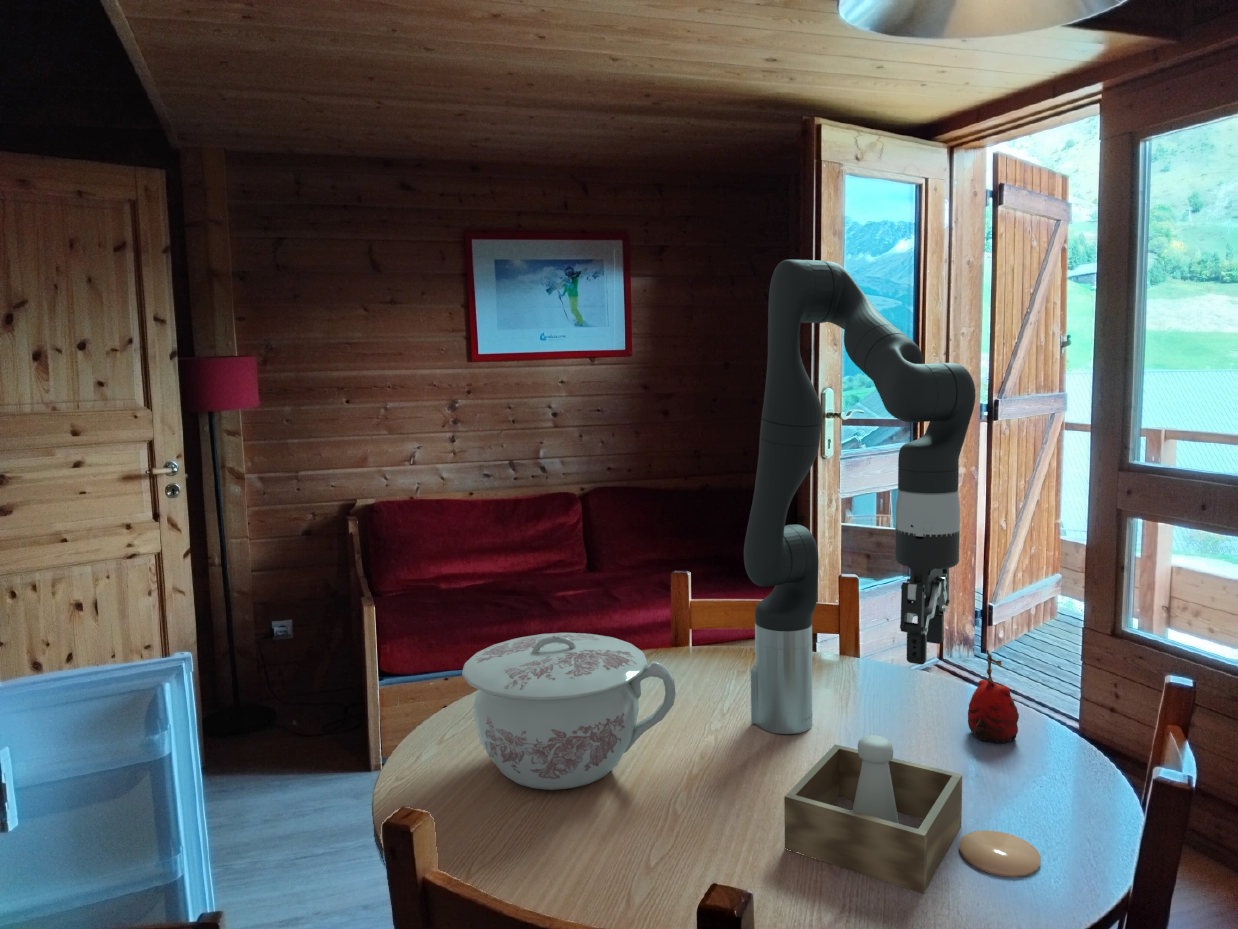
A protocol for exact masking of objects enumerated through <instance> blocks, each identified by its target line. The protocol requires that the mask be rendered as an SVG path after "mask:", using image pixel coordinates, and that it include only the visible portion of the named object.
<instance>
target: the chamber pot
mask: <svg viewBox="0 0 1238 929" xmlns="http://www.w3.org/2000/svg"><path fill="white" fill-rule="evenodd" d="M461 673H462V674H461V676H462V678H464V680H465V681H466V682H467V684H468V685H469V686H470V687H472V688H474V689H476V692H475V695H474V701H473V710H474V711H473V713H474V723H475V726H476V729H477V734H478V737H479V741H480V744H481V746H482V747H483V749H484V751H485V752H486V754H487V755H488V756H489V758H490V759H491V760H492V762H493V764H495V766H496V767H497V768H498V770H499V771H500V773H502V775H503V776H505V778H507V779H509V780H511V781H512V782H514V783H515V784H518V785H521V786H524V787H527V788H531V789H535V790H536V789H539V790H547V791H548V790H549V791H552V790H553V791H554V790H555V791H556V790H566V789H567V790H568V789H574V788H577V787H583V786H586V785H589V784H591V783H594V782H596V781H599V780H600V779H602V778H604V777H605V776H606V775H608V774H609V773H611V771H612V770H613V769H615V767H617V765H618V763H619V762H620V760H621V759H622V757H623V755H624V754H625V753H627V752H628V751H629V750H630V748H631V747H632V746H633V745H634V744H635V743H636V741H637V740H638V739H639V738H640V737H641V736H642V735H643V734H644V733H646V732H647V731H648V730H649V729H651V728H652V727H655V725H657V724H658V723H660V722H661V721H663V719H664V718H665V717H666V715H667V714H668V713H669V711H671V709H672V708H673V706H674V705H675V701H676V700H675V699H676V696H677V692H676V683H675V682H676V681H675V678H674V677H673V675H672V673H671V671H670V670H669V669H668V668H667V666H665V665H664V664H662V663H661V662H660V661H656V660H655V661H652V662H651V663H650V664H648V660H647V658H646V654H645V653H644V652H643V651H642V650H641V649H640V648H638V647H636V646H635V645H634V644H632V643H630V642H628V641H625V640H622V639H619V638H616V637H613V636H607V635H606V636H605V635H601V634H600V635H599V634H593V633H585V632H584V633H582V632H581V633H580V632H577V633H576V632H555V633H553V632H552V633H541V634H534V635H528V636H527V635H526V636H522V637H516V638H512V639H509V640H505V641H503V642H499V643H495V644H492V645H490V646H488V647H486V648H484V649H482V650H479V651H477V652H476V653H475V654H473V655H472V656H471V657H470V658H469V659H468V660H466V662H465V663H464V664H463V668H462V672H461ZM650 677H651V678H652V677H653V678H659V679H661V680H662V682H663V685H664V692H665V693H664V697H663V701H662V703H661V704H660V705H659V706H658V707H657V708H656V710H655V711H654V712H653V713H652V714H651V715H649V716H647V717H645V718H644V719H642V720H640V721H639V722H637V720H638V717H639V716H638V715H639V709H640V708H639V707H640V706H639V705H640V704H639V699H640V697H641V696H642V684H641V682H642V681H643V680H644V679H647V678H650Z"/></svg>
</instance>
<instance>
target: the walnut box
mask: <svg viewBox="0 0 1238 929" xmlns="http://www.w3.org/2000/svg"><path fill="white" fill-rule="evenodd" d="M862 762H863V760H862V759H861V758H860V757H859V755H858V748H852V747H850V746H849V747H848V746H844V745H840V744H837V743H835V744H833V745H832V747H831V748H830V749H828V751H827V752H826V753H825V754H824V755H823V756H821V758H820V759H819V760H818V761H817V762H816V763H815V764H814V765H813V767H812V768H810V769H809V770H808V771H807V773H805V774H804V776H803V777H802V778H801V779H799V781H798V782H797V783H795V784H794V786H793V787H792V788H791V789H790V790H789V791H788V792H787V793H786V794H784V797H783V798H784V803H783V804H784V807H783V808H784V809H783V810H784V811H783V812H784V813H783V814H784V849H785V848H786V849H788V850H791V851H794V852H799V853H801V854H804V855H806V856H805V857H807V856H809V857H808V858H810V857H813V858H816V859H819V860H821V861H820V862H823V861H824V862H823V863H826V862H827V863H826V864H829V863H830V864H829V865H832V866H836V867H838V868H841V869H844V870H845V869H846V870H849V871H851V872H854V873H857V872H858V874H860V875H861V874H862V875H864V876H868V877H870V878H873V879H876V880H880V881H883V882H886V883H889V884H891V885H895V886H899V887H902V888H905V889H909V890H911V891H914V892H918V893H921V894H925V893H926V891H927V889H928V887H929V885H930V883H931V882H932V881H933V878H934V876H935V874H936V873H937V871H938V869H939V867H940V865H941V863H942V861H943V860H944V858H945V856H946V855H947V852H948V851H949V849H950V847H951V845H952V844H953V842H954V840H955V838H956V836H957V835H958V833H959V831H960V829H961V827H962V816H963V815H962V814H963V813H962V812H963V810H962V809H963V805H962V804H963V774H962V773H958V772H954V771H950V770H946V769H941V768H938V767H937V768H936V767H932V766H929V765H925V764H920V763H916V762H912V761H907V760H904V759H898V758H894V757H893V758H892V760H891V761H890V762H888V763H889V769H890V775H891V780H892V786H893V792H894V798H895V803H896V809H897V814H898V813H899V814H901V815H906V816H910V817H912V818H913V817H914V818H917V819H921V820H923V821H922V823H921V825H920V826H919V827H918V828H916V827H911V826H909V825H904V824H902V823H899V824H898V823H894V822H891V821H887V820H883V819H880V818H876V817H873V816H869V815H865V814H862V813H858V812H855V811H852V810H851V809H847V808H843V807H840V806H836V805H834V804H835V802H836V801H837V800H838V799H839V798H843V799H847V800H850V801H854V800H855V795H856V791H857V786H858V782H859V777H860V772H861V767H862ZM788 850H787V851H788ZM791 851H790V852H791ZM794 852H793V853H794ZM801 854H800V855H801ZM804 855H803V856H804ZM813 858H812V859H813ZM816 859H815V860H816ZM819 860H818V861H819Z"/></svg>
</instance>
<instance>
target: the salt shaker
mask: <svg viewBox="0 0 1238 929" xmlns="http://www.w3.org/2000/svg"><path fill="white" fill-rule="evenodd" d="M857 750H858V755H859V757H860V758H861V759H862V760H863V762H862V767H861V772H860V777H859V782H858V786H857V791H856V795H855V800H854V802H853V804H852V805H853V806H852V810H851V811H855V812H858V813H862V814H865V815H869V816H873V817H876V818H880V819H883V820H887V821H891V822H894V823H898V824H900V822H899V815H898V812H897V809H896V803H895V798H894V792H893V786H892V780H891V775H890V769H889V763H888V762H890V761H891V760H892V758H894V747H893V743H892V742H891V741H890V740H889V739H887V737H883V736H880V735H875V734H871V735H865V736H863V737H861V739H859V740H858V742H857Z"/></svg>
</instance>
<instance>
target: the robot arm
mask: <svg viewBox="0 0 1238 929" xmlns="http://www.w3.org/2000/svg"><path fill="white" fill-rule="evenodd" d="M768 292H769V293H768V311H767V312H768V315H767V316H768V317H767V318H768V320H767V321H768V322H767V366H766V367H767V368H766V375H765V377H766V378H765V389H764V396H763V406H762V413H761V420H760V432H759V445H758V446H759V447H758V448H759V449H758V459H757V465H756V466H757V468H756V476H755V482H754V484H755V485H754V491H753V498H752V504H751V508H750V513H749V519H748V522H747V527H746V532H745V538H744V545H743V563H744V568H745V572H746V574H747V576H748V578H749V579H750V581H751V582H752V583H753V584H754V585H756V586H759V587H774V588H773V589H772V591H771V592H770V593H768V595H767V596H765V598H763V599H762V600H760V602H758V603H757V604H756V606H755V609H754V634H755V635H754V641H755V642H754V644H755V645H754V646H755V647H754V649H755V654H754V655H755V664H754V666H752V667H751V668H750V720H751V721H750V722H751V724H754V725H756V726H758V727H759V728H760V729H762V730H764V731H766V732H770V733H773V734H778V735H779V734H781V735H794V734H796V735H797V734H800V733H803V732H806V731H808V730H810V729H811V727H812V726H813V614H814V612H815V609H816V607H817V602H818V584H819V565H820V564H819V550H818V545H817V542H816V539H815V537H814V536H813V533H812V532H811V531H810V530H809V529H808V528H807V527H805V526H803V525H801V524H787V525H786V520H787V515H788V511H789V507H790V505H791V502H792V500H793V498H794V496H795V494H796V492H797V490H798V489H799V487H800V486H801V484H802V483H803V481H804V480H805V478H806V477H807V475H808V473H809V471H810V470H811V468H812V467H813V465H814V462H815V460H816V458H817V457H818V456H817V455H818V452H819V448H820V441H821V434H822V433H821V432H822V425H823V424H822V422H823V406H822V404H821V401H820V398H819V396H818V394H817V391H816V389H815V386H814V385H813V383H812V381H811V379H810V377H809V375H808V373H807V371H806V367H805V366H804V364H803V360H802V357H801V350H800V348H801V347H800V331H801V323H802V324H807V323H808V324H824V323H830V324H833V325H835V326H837V327H839V328H841V329H842V330H843V331H844V332H843V345H844V349H845V351H846V354H847V356H848V357H849V359H850V360H851V362H852V363H853V364H855V366H856V367H857V368H858V369H859V370H860V371H861V372H863V373H864V375H866V376H867V378H868V379H870V380H872V382H873V385H874V387H875V389H876V391H877V393H878V395H879V398H880V400H881V401H882V404H883V406H884V408H885V410H886V412H887V413H888V414H890V416H892V417H893V418H895V419H897V420H898V421H901V422H905V423H924V422H925V423H926V422H928V425H927V428H926V430H925V433H924V434H923V436H921V437H920V438H918V439H915V440H912V441H909V442H907V443H904V444H903V445H901V447H900V448H899V451H898V457H897V458H898V461H897V462H898V463H897V471H898V473H897V495H896V496H897V497H896V504H895V528H894V530H895V532H894V533H895V534H894V535H895V536H894V537H895V538H894V540H895V541H894V560H895V561H896V562H897V563H898V564H899V565H901V566H906V567H907V568H909V569H910V577H909V578H907V580H906V582H902V584H901V587H900V590H901V591H900V592H901V597H900V623H899V624H900V625H899V629H900V630H899V631H900V632H903V633H906V661H907V662H908V663H910V664H915V665H921V666H922V665H924V664H926V662H927V652H928V651H927V648H928V646H927V645H928V643H929V644H936V645H937V644H938V645H939V644H941V643H942V642H943V640H944V615H946V612H947V607H948V606H949V604H950V569H951V568H954V567H956V566H957V565H958V564H959V563H960V536H961V535H960V532H961V531H960V530H961V507H960V499H959V498H960V497H959V478H960V477H959V472H960V471H959V470H960V469H959V466H960V465H959V462H960V461H959V460H960V456H961V452H962V448H963V446H964V443H965V439H966V435H967V433H968V429H969V425H970V423H971V419H972V415H973V413H974V408H975V404H976V386H975V382H974V380H973V376H972V375H971V373H970V372H969V370H967V368H965V366H963V365H961V364H959V363H956V362H941V363H940V362H938V363H937V362H934V363H923V362H924V360H923V359H924V358H923V353H922V351H921V349H920V347H919V346H918V344H916V342H915V341H913V340H912V338H910V337H908V336H907V334H905V333H904V332H903V331H901V330H900V329H898V328H897V327H896V326H895V325H893V324H892V323H891V322H890V321H889V320H888V319H886V317H884V316H883V315H882V314H881V313H880V311H878V309H877V308H876V307H875V306H874V304H873V303H872V302H871V300H870V299H869V298H868V296H867V295H866V294H865V293H864V291H863V290H862V289H861V288H860V286H859V285H858V283H857V281H855V280H854V278H853V276H852V275H851V274H850V273H849V272H848V271H847V269H846V268H844V267H843V266H841V265H840V264H839V263H837V262H834V261H830V260H814V259H812V260H811V259H783V260H782V261H780V262H779V263H778V264H777V265H776V266H775V268H774V270H773V273H772V276H771V280H770V284H769V291H768ZM914 617H917V618H916V620H917V622H916V623H915V622H913V619H914Z"/></svg>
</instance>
